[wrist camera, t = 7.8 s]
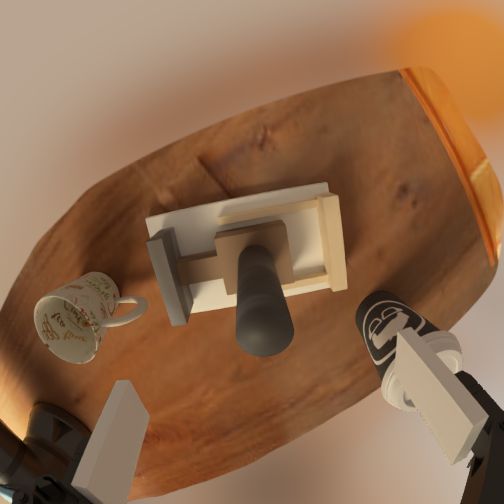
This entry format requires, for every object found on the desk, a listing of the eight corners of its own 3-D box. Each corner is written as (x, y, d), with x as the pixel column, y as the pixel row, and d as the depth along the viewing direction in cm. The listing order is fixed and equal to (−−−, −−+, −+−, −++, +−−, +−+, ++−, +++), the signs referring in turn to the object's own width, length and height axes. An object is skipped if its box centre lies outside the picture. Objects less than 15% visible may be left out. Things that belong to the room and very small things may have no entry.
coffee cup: (340, 346, 38) (378, 426, 24) (348, 282, 35) (404, 351, 21) (400, 338, 38) (450, 405, 24) (413, 278, 36) (481, 334, 21)
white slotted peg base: (175, 311, 36) (168, 329, 32) (148, 216, 32) (135, 225, 28) (336, 281, 35) (347, 296, 31) (324, 182, 32) (336, 185, 28)
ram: (180, 304, 34) (144, 401, 19) (159, 229, 31) (93, 290, 16) (292, 284, 34) (327, 377, 18) (279, 205, 31) (315, 249, 16)
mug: (66, 266, 34) (23, 298, 24) (149, 252, 34) (117, 286, 24) (85, 322, 36) (52, 363, 27) (166, 315, 36) (145, 363, 26)
